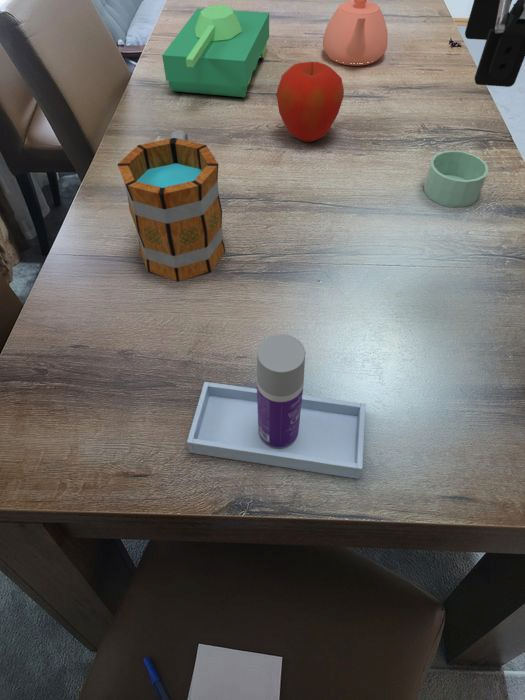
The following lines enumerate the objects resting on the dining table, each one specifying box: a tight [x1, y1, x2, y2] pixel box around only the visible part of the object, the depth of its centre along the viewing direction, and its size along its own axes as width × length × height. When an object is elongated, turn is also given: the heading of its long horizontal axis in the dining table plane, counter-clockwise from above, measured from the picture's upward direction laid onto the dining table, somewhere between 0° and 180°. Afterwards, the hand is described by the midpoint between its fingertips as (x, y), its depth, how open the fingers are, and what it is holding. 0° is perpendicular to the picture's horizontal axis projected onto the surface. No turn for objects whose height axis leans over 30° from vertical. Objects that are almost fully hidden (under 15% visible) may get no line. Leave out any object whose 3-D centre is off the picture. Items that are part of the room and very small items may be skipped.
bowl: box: [423, 149, 490, 208], centre depth 85 cm, size 9×9×5 cm
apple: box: [275, 61, 345, 143], centre depth 92 cm, size 12×12×14 cm
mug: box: [117, 129, 227, 282], centre depth 73 cm, size 20×14×15 cm
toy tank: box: [161, 4, 270, 98], centre depth 109 cm, size 18×12×35 cm
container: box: [256, 333, 306, 449], centre depth 51 cm, size 5×5×15 cm
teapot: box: [322, 0, 389, 67], centre depth 116 cm, size 22×16×12 cm
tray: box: [186, 381, 366, 480], centre depth 56 cm, size 19×8×3 cm, turn 80°
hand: (486, 59), depth 44 cm, fingers open, 9 cm apart
